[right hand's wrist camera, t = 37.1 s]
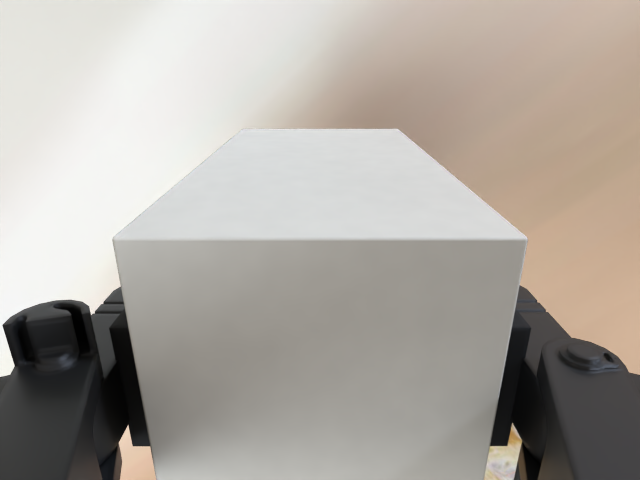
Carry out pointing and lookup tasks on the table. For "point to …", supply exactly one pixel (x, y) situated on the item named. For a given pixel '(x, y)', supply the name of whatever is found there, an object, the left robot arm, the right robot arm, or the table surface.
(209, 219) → the brick
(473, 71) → the table surface
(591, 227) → the table surface
